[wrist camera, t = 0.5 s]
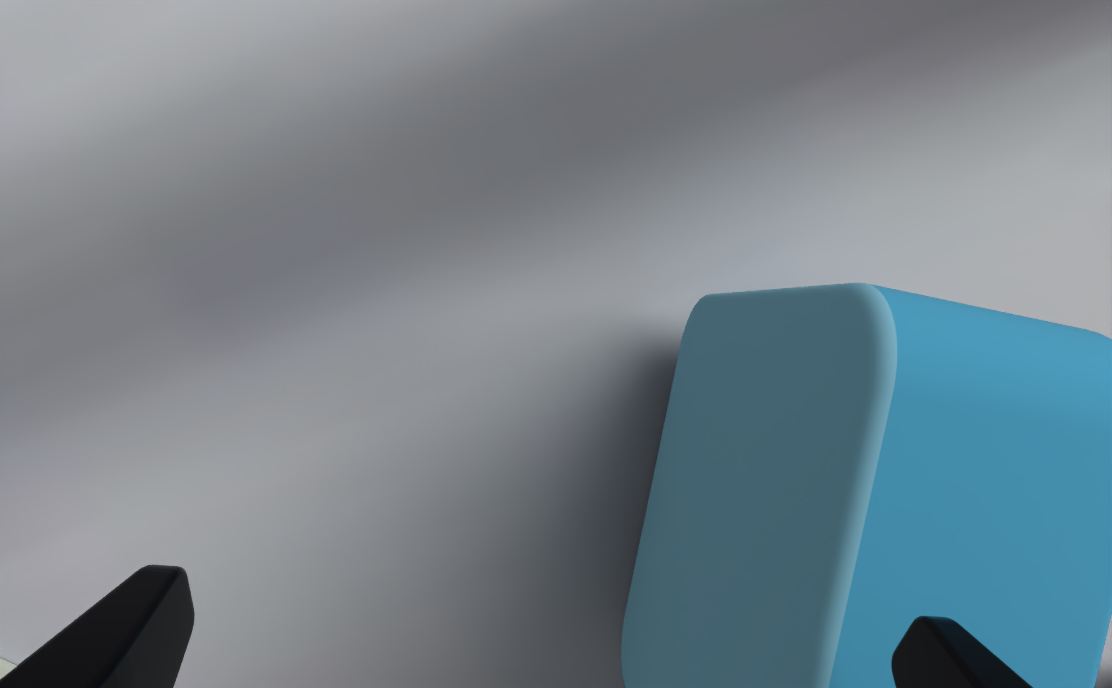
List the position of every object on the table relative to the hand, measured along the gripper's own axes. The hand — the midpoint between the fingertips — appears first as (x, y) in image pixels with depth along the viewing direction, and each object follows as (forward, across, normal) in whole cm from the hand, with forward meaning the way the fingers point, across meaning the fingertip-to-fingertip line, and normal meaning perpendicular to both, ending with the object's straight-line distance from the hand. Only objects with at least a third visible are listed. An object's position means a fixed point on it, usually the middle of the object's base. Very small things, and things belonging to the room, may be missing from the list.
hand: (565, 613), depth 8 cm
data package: (+11, -7, +8) cm, 15 cm away
